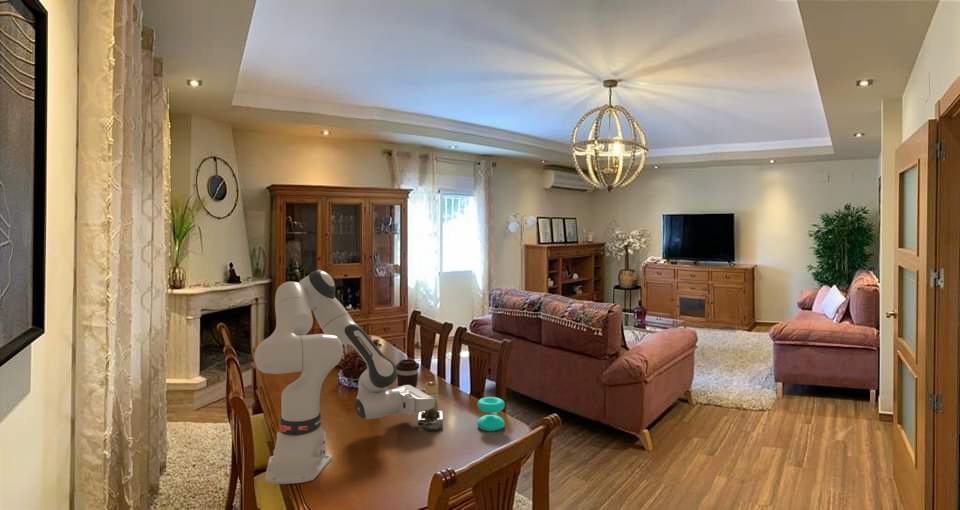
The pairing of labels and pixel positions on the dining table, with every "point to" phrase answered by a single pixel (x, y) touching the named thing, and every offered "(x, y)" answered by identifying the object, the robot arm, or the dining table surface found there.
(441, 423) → the carrier
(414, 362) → the coffee cup
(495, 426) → the donuts
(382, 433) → the dining table surface
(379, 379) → the robot arm
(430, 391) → the tan bottle
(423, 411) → the ring seat
